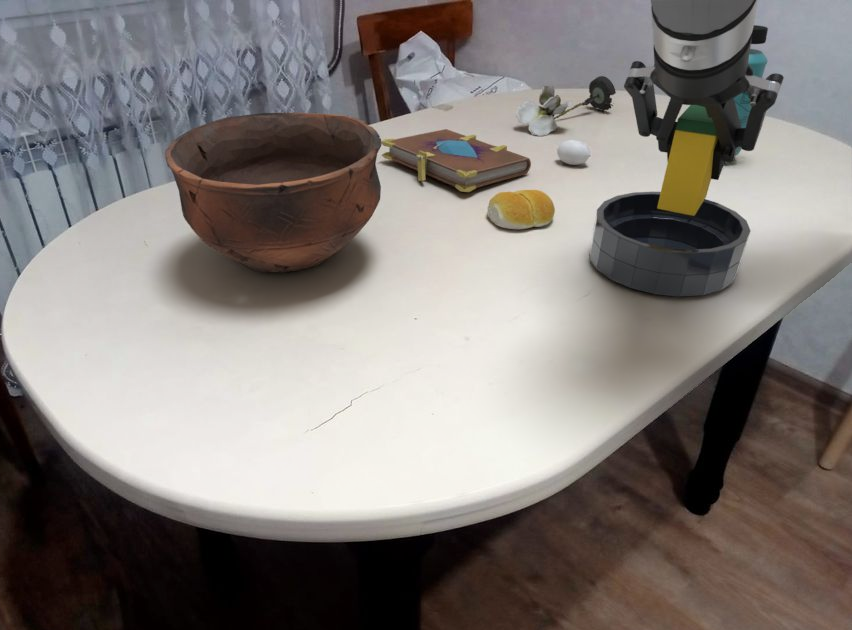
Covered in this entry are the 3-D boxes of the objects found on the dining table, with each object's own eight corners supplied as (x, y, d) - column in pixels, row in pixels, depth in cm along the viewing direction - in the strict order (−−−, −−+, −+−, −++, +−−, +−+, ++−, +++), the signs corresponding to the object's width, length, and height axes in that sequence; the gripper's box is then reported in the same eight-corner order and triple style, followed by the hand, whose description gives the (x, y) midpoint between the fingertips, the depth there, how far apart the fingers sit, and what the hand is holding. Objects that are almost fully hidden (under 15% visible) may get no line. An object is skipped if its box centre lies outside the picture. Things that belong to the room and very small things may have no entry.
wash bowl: (745, 253, 82) (760, 207, 78) (719, 315, 70) (735, 266, 67) (612, 225, 89) (620, 182, 86) (569, 277, 78) (577, 231, 74)
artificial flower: (620, 121, 130) (636, 73, 122) (532, 157, 122) (543, 109, 114) (589, 99, 134) (602, 52, 126) (502, 132, 127) (511, 84, 119)
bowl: (154, 302, 76) (120, 176, 67) (226, 213, 95) (207, 107, 87) (368, 314, 72) (361, 183, 64) (396, 220, 92) (394, 109, 83)
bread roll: (564, 225, 90) (568, 197, 87) (504, 235, 87) (506, 207, 85) (534, 202, 96) (537, 175, 94) (478, 211, 94) (480, 184, 91)
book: (432, 142, 121) (433, 114, 118) (532, 180, 105) (536, 149, 102) (359, 158, 113) (359, 128, 110) (456, 201, 97) (458, 168, 94)
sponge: (706, 197, 76) (730, 108, 70) (694, 216, 72) (719, 123, 66) (670, 190, 78) (691, 103, 72) (656, 208, 74) (677, 118, 68)
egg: (560, 157, 111) (563, 134, 109) (594, 164, 108) (597, 140, 106) (549, 163, 108) (552, 140, 106) (583, 171, 105) (587, 147, 103)
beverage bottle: (688, 159, 108) (721, 26, 97) (707, 150, 112) (741, 20, 100) (727, 169, 104) (766, 31, 92) (746, 159, 108) (786, 25, 96)
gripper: (585, 65, 58) (611, 181, 79) (803, 86, 51) (768, 209, 71) (614, -11, 59) (632, 125, 80) (834, -1, 51) (790, 146, 72)
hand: (696, 164), depth 75 cm, fingers closed on sponge, 4 cm apart
